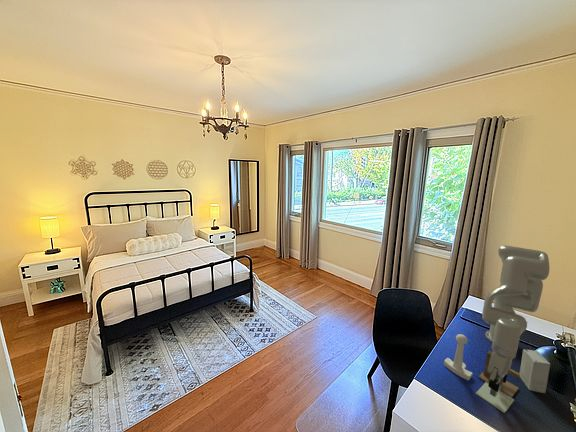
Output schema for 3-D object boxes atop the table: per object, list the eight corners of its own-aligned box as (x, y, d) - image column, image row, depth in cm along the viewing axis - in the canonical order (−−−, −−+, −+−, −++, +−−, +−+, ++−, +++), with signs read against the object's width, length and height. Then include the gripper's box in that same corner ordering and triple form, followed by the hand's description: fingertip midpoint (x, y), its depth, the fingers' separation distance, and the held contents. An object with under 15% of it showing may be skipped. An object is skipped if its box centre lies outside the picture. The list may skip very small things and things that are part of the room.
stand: (486, 370, 118) (490, 347, 115) (519, 389, 107) (524, 364, 105) (478, 377, 114) (482, 354, 111) (512, 398, 103) (517, 373, 101)
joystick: (442, 365, 121) (447, 330, 117) (450, 358, 125) (455, 324, 121) (467, 381, 112) (473, 344, 108) (475, 374, 115) (481, 338, 111)
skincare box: (545, 394, 105) (552, 365, 102) (528, 390, 107) (534, 362, 104) (533, 377, 113) (539, 350, 110) (517, 374, 115) (522, 348, 112)
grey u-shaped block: (496, 385, 106) (499, 370, 104) (501, 389, 104) (504, 373, 103) (489, 393, 102) (492, 378, 101) (494, 397, 101) (497, 381, 99)
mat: (485, 383, 111) (485, 381, 111) (514, 400, 102) (514, 399, 102) (475, 393, 106) (475, 392, 106) (504, 413, 97) (504, 412, 97)
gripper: (501, 335, 106) (494, 369, 110) (483, 351, 98) (477, 387, 101) (523, 346, 100) (516, 381, 104) (507, 364, 91) (499, 402, 95)
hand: (497, 384), depth 103 cm, fingers closed on grey u-shaped block, 7 cm apart
